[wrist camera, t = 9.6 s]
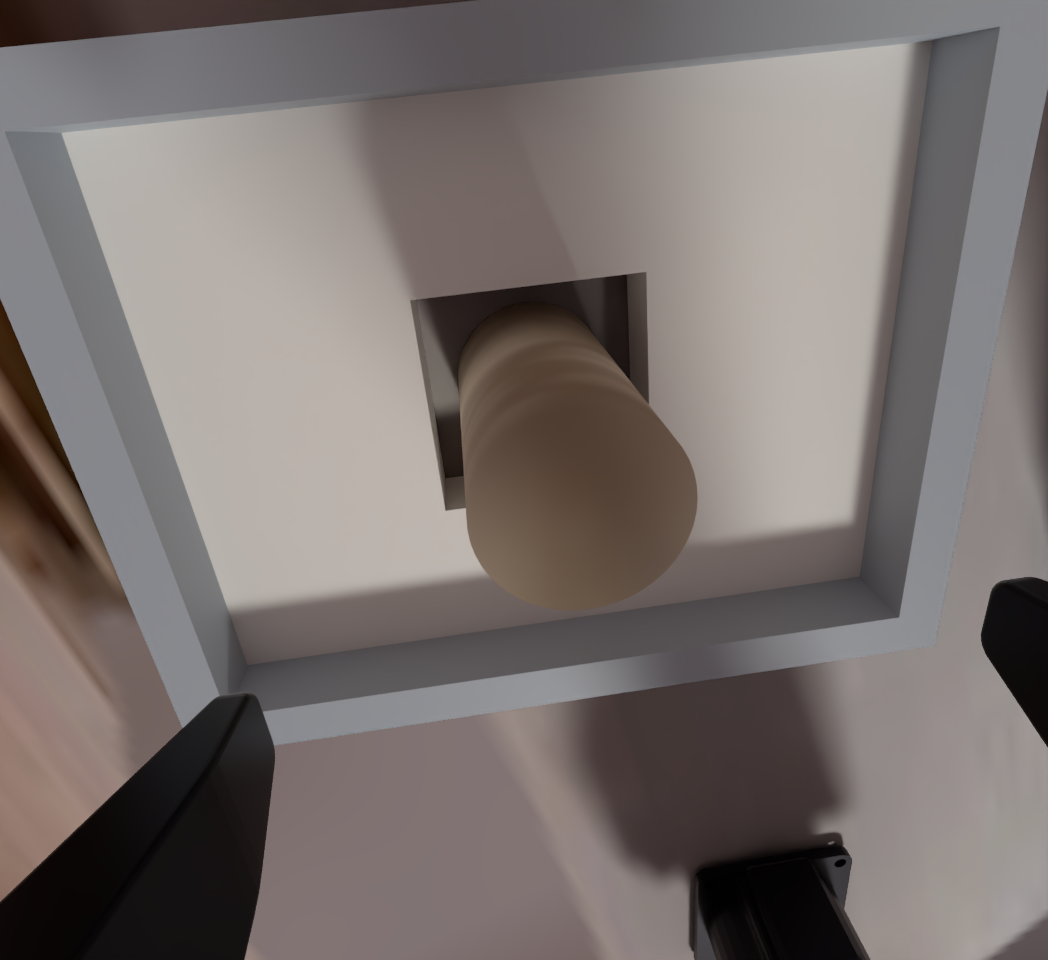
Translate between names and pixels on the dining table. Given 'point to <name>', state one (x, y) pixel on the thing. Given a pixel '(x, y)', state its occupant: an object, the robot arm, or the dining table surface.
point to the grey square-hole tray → (501, 263)
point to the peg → (566, 464)
